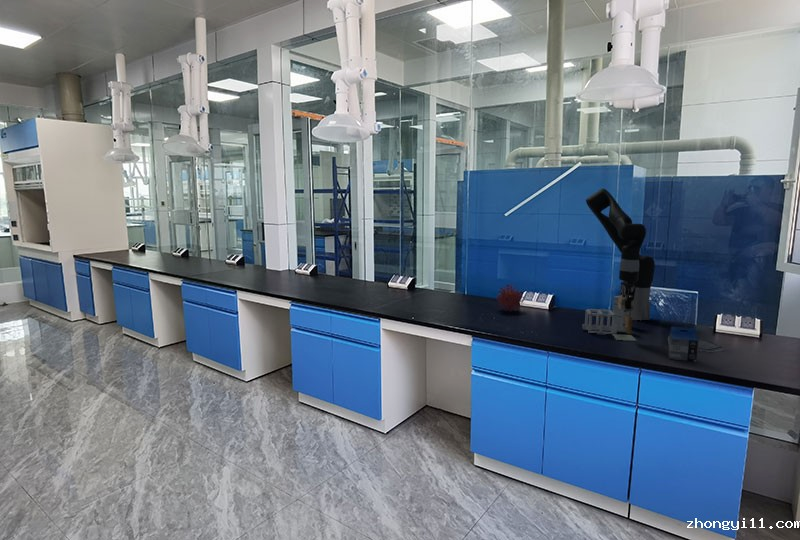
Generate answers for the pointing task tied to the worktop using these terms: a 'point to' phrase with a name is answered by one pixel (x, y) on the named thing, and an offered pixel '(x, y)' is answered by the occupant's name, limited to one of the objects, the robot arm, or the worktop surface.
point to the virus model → (510, 298)
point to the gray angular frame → (599, 313)
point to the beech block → (622, 303)
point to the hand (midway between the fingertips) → (626, 307)
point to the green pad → (624, 337)
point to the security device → (704, 345)
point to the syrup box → (619, 313)
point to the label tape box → (683, 344)
